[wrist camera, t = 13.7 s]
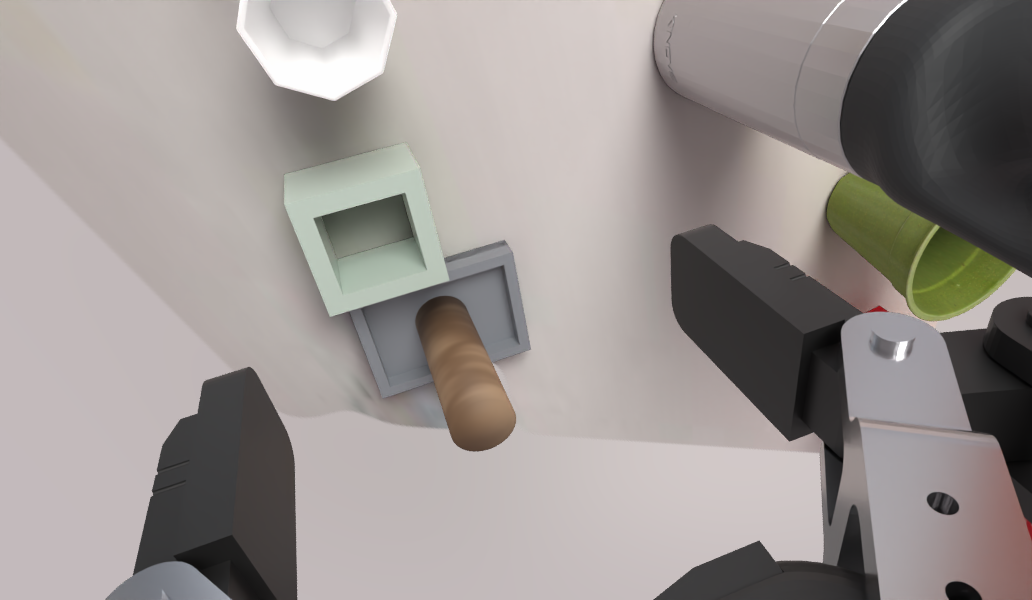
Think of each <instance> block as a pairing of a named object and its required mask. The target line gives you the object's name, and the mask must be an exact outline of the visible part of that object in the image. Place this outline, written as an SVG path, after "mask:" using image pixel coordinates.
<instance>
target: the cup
mask: <svg viewBox="0 0 1032 600" xmlns="http://www.w3.org/2000/svg"><path fill="white" fill-rule="evenodd" d="M396 18H397V13H396V11H395V9H394V7H393V5H392V4H391V2H390V0H240V4H239V12H238V19H237V26H236V30H237V31H238V33H239V34H240V35H241V37H242V38H243V40H244V41H245V43H246V44H247V46H248V47H249V48H250V50H251V51H252V53H253V54H254V56H255V57H256V58H257V60H258V61H259V63H260V64H261V66H262V67H263V68H264V70H265V71H266V73H267V74H268V76H269V77H270V78H271V80H272V81H273V83H274V84H275V85H276V86H280V87H284V88H288V89H291V90H295V91H299V92H302V93H306V94H310V95H313V96H317V97H321V98H325V99H328V100H332V101H336V100H338V99H339V98H341V97H343V96H345V95H346V94H348V93H350V92H352V91H353V90H355V89H357V88H358V87H360V86H362V85H364V84H365V83H367V82H369V81H371V80H372V79H374V78H376V77H377V76H379V75H381V74H383V73H384V69H385V64H386V60H387V56H388V52H389V48H390V43H391V39H392V35H393V31H394V26H395V22H396Z"/></svg>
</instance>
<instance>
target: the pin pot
mask: <svg viewBox="0 0 1032 600" xmlns="http://www.w3.org/2000/svg"><path fill="white" fill-rule="evenodd" d="M399 194H402V197H403V201H404V204H405V208H406V211H407V215H408V218H409V222H410V225H411V229H412V232H413V236H414V237H412V238H409V239H405V240H402V241H398V242H395V243H391V244H388V245H384V246H381V247H377V248H374V249H371V250H367V251H364V252H360V253H357V254H353V255H350V256H346V257H343V258H340V259H337V257H336V254H335V252H334V249H333V246H332V244H331V241H330V238H329V236H328V233H327V230H326V228H325V225H324V222H323V220H322V217H321V216H323V215H326V214H330V213H334V212H337V211H341V210H344V209H348V208H352V207H355V206H359V205H362V204H366V203H370V202H373V201H377V200H380V199H384V198H388V197H391V196H395V195H399ZM284 206H285V208H286V211H287V213H288V215H289V218H290V220H291V223H292V225H293V228H294V230H295V233H296V235H297V237H298V240H299V242H300V245H301V247H302V250H303V252H304V255H305V257H306V259H307V262H308V264H309V267H310V269H311V272H312V274H313V277H314V279H315V281H316V284H317V286H318V289H319V291H320V294H321V296H322V299H323V301H324V303H325V306H326V308H327V311H328V313H329V316H330V317H332V316H335V315H338V314H341V313H345V312H348V311H351V310H354V309H358V308H361V307H364V306H368V305H371V304H374V303H377V302H381V301H384V300H387V299H391V298H394V297H397V296H400V295H404V294H407V293H410V292H414V291H417V290H420V289H423V288H427V287H430V286H433V285H436V284H440V283H443V282H446V281H450V280H449V276H448V273H447V269H446V265H445V261H444V257H443V253H442V250H441V246H440V242H439V238H438V234H437V230H436V227H435V223H434V219H433V215H432V211H431V208H430V204H429V200H428V196H427V192H426V188H425V185H424V181H423V177H422V173H421V169H420V167H419V165H418V163H417V161H416V159H415V158H414V156H413V154H412V152H411V150H410V148H409V146H408V144H407V143H406V142H405V143H401V144H397V145H394V146H390V147H386V148H382V149H378V150H375V151H371V152H367V153H363V154H359V155H356V156H352V157H348V158H344V159H340V160H337V161H333V162H329V163H325V164H321V165H318V166H314V167H310V168H306V169H302V170H299V171H295V172H291V173H287V174H284Z"/></svg>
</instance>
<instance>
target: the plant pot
mask: <svg viewBox="0 0 1032 600" xmlns="http://www.w3.org/2000/svg"><path fill="white" fill-rule="evenodd" d="M827 220H828V222H829V224H830V226H831V228H832V229H833V231H834V232H835V233H836V234H837V235H839V236H840V237H841V238H842V239H843V240H844V241H845V242H847V243H848V244H849V245H850V246H851V247H852V248H853V249H855V250H856V251H857V252H858V253H859V254H860V255H861V256H862V257H864V258H865V259H866V260H867V261H868V262H869V263H870V264H872V265H873V266H874V267H875V268H876V269H877V270H878V271H880V272H881V273H882V274H883V275H884V276H885V277H886V278H887V279H888V280H890V281H891V283H892V285H893V287H894V288H895V289H896V290H897V291H898V292H899V293H900V294H901V295H903V296H904V297H905V298H906V302H907V305H908V307H909V309H910V310H911V312H912V313H913V314H914V315H915V316H917V317H918V318H920V319H923V320H927V321H941V320H947V319H950V318H952V317H954V316H958V315H960V314H962V313H965V312H966V311H968V310H970V309H972V308H974V307H975V306H976V305H978V304H979V303H981V302H982V301H983V300H985V299H987V298H988V297H989V296H990V295H991V294H993V292H995V291H996V290H997V289H998V288H999V287H1000V286H1001V285H1002V284H1003V283H1004V282H1005V281H1006V280H1007V279H1008V278H1009V277H1010V276H1011V275H1012V274H1013V273H1014V271H1015V270H1016V269H1015V268H1013V267H1012V266H1010V265H1008V264H1006V263H1005V262H1003V261H1001V260H999V259H998V258H996V257H994V256H992V255H990V254H989V253H987V252H985V251H983V250H982V249H980V248H978V247H976V246H975V245H973V244H971V243H969V242H967V241H966V240H964V239H962V238H960V237H958V236H956V235H955V234H953V233H951V232H949V231H947V230H945V229H944V228H942V227H940V226H938V225H936V224H934V223H932V222H930V221H928V220H926V219H925V218H923V217H921V216H919V215H917V214H915V213H913V212H911V211H909V210H908V209H906V208H904V207H902V206H900V205H899V204H897V203H896V202H894V201H893V200H892V199H891V198H890V197H888V196H887V195H886V194H885V192H884V191H883V190H882V189H881V188H880V186H878V185H876V184H873V183H871V182H869V181H867V180H865V179H863V178H860V177H858V176H856V175H854V174H852V173H848V174H847V175H846V176H844V177H843V178H841V179H840V181H839V182H838V184H837V185H836V187H835V188H834V190H833V192H832V194H831V197H830V199H829V202H828V207H827Z"/></svg>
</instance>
